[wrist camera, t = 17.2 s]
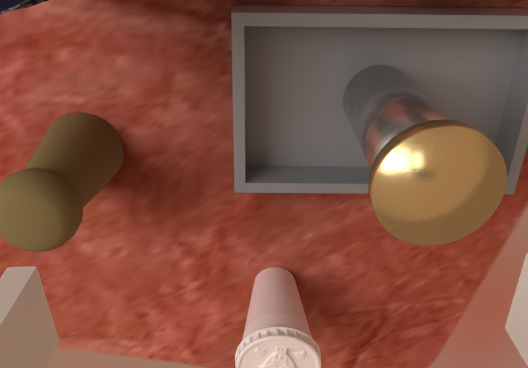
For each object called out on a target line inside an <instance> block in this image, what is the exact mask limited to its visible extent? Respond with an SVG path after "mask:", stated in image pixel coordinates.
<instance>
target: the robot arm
mask: <svg viewBox="0 0 528 368" xmlns="http://www.w3.org/2000/svg"><path fill="white" fill-rule="evenodd" d="M505 330H506V331H507V333H508V335H509V336H510V338H511V339H512V341H513V343H514V344H515V346H516V348H517V350H518V351H519V353H520V355H521V356H522V358H523V359H524V361H525V363H526V365H527V366H528V253H526V257H525V260H524V264H523V267H522V270H521V274H520V277H519V281H518V284H517V288H516V291H515V295H514V298H513V302H512V305H511V309H510V312H509V315H508V319H507V323H506V326H505ZM58 343H59V338H58V335H57V332H56V329H55V325H54V322H53V319H52V316H51V312H50V309H49V306H48V303H47V299H46V296H45V293H44V290H43V286H42V283H41V280H40V277H39V273H38V270H37V267H8V268H7V269H6V270H5V272H4V273H3V275H2V276H1V278H0V368H47V367H48V365H49V363H50V360H51V358H52V356H53V354H54V352H55V349H56V347H57V345H58Z"/></svg>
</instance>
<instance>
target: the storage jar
mask: <svg viewBox="0 0 528 368" xmlns="http://www.w3.org/2000/svg"><path fill="white" fill-rule="evenodd" d="M45 1H48V0H0V14H1V13H4V12H7V11H10V10H15V9H21V8H27V7H30V6H33V5H36V4H39V3H41V2H45Z"/></svg>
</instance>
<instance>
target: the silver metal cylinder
mask: <svg viewBox="0 0 528 368" xmlns="http://www.w3.org/2000/svg"><path fill="white" fill-rule="evenodd" d="M343 108H344V112H345V114H346V116H347V119H348V121H349V123H350V125H351V127H352V129H353V132H354V134H355V136H356V138H357V140H358V143H359V145H360V147H361V149H362V151H363V154H364V156H365V158H366V160H367V162H368V165H369V167H370V172H369V177H368V196H369V199H370V203H371V205H372V208H373V210H374V213H375V215H376V217H377V219H378V221H379V222H380V224H381V225H382V226H383V227H384V228H385V230H387V231H388V232H389V233H390V234H391V235H393V236H395V237H396V238H398V239H400V240H402V241H405V242H408V243H411V244H417V245H440V244H445V243H449V242H453V241H456V240H458V239H461V238H463V237H465V236H467V235H469V234H471V233H472V232H474V231H475V230H477V229H478V228H479V227H481V226H482V225H483V224H484V223H485V222H486V221H487V220H488V219H489V218H490V217H491V216H492V215H493V213H494V212H495V211H496V209H497V208H498V206H499V204H500V202H501V200H502V198H503V195H504V193H505V189H506V184H507V170H506V165H505V161H504V158H503V156H502V154H501V152H500V151H499V149H498V148H497V147H496V146H495V145H494V144H493V143H492V141H490V140H489V139H488V138H487V137H486V136H485V135H484V134H483V133H482V132H480V131H479V130H478V129H476V128H475V127H473V126H471V125H469V124H466V123H463V122H460V121H455V120H448V119H447V118H446V117H445V116H444V115H443V114H442V113H441V112H440V111H439V110H438V109H437V108H436V107H435V106H434V105H433V104H432V103H431V102H430V101H429V100H428V99H427V98H426V97H425V96H424V95H423V94H422V93H421V92H420V90H419V89H418V88H417V87H416V86H415V85H414V84H413V83H412V82H411V81H410V80H409V79H408V78H407V77H406V76H405V75H404V74H403V73H402V72H401V71H399V70H398V69H396V68H394V67H391V66H387V65H374V66H370V67H367V68H365V69H363V70H361V71H360V72H358V73H357V74H356V75H355V76H354V77H353V78H352V79H351V80H350V81H349V83H348V85H347V86H346V89H345V91H344V95H343Z"/></svg>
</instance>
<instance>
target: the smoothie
mask: <svg viewBox="0 0 528 368" xmlns="http://www.w3.org/2000/svg"><path fill="white" fill-rule="evenodd" d="M235 363H236V364H235V368H321V353H320V350H319V347H318V345H317V344H316V342H315V341H314V340H313V339H312V336H311V332H310V330H309V326H308V323H307V319H306V316H305V313H304V309H303V306H302V302H301V299H300V296H299V292H298V289H297V286H296V282H295V279H294V277H293V275H292V274H291V273H290V272H289V271H288V270H286V269H283V268H279V267H271V268H267V269H264V270H263V271H261V272H260V273H259V274H258V275H257V276H256V278H255V281H254V286H253V291H252V296H251V301H250V306H249V311H248V316H247V320H246V325H245V330H244V334H243V339H242V342H241V343H240V345H239V346H238V348H237V351H236V354H235Z"/></svg>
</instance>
